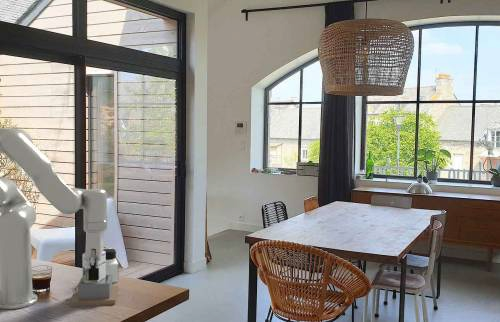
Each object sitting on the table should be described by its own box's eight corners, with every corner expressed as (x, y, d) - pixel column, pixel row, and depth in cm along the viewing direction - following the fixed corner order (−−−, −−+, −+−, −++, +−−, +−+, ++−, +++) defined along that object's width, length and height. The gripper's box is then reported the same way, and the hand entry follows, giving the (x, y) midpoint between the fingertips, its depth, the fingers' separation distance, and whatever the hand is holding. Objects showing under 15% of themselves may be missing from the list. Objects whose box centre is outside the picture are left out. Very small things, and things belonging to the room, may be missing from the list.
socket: (70, 306, 160) (70, 286, 160) (77, 292, 174) (77, 273, 173) (115, 304, 163) (115, 285, 162) (118, 290, 176) (118, 272, 176)
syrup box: (106, 291, 170) (106, 250, 169) (97, 297, 164) (97, 254, 163) (91, 290, 171) (91, 249, 170) (82, 296, 166) (81, 253, 165)
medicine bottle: (118, 282, 185) (118, 250, 184) (98, 284, 183) (98, 252, 182) (116, 276, 192) (116, 246, 191) (97, 278, 189) (96, 247, 188)
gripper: (87, 220, 174) (87, 268, 176) (79, 231, 157) (80, 284, 159) (109, 220, 176) (109, 267, 177) (104, 230, 159) (104, 283, 160)
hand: (95, 275), depth 168 cm, fingers open, 9 cm apart
